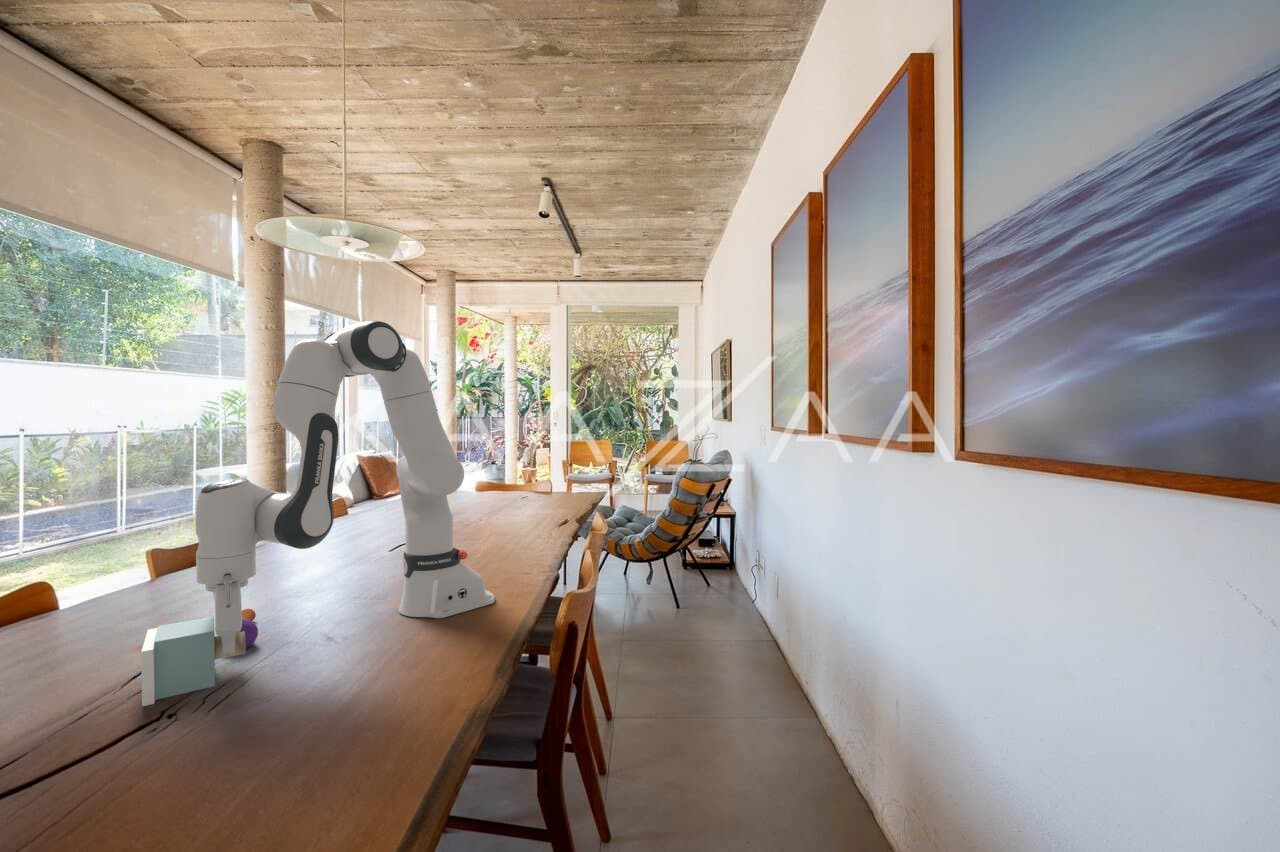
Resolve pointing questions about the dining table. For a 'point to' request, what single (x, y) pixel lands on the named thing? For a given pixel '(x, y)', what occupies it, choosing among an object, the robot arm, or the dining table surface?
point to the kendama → (249, 626)
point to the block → (184, 657)
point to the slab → (148, 668)
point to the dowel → (239, 646)
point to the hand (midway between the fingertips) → (228, 643)
